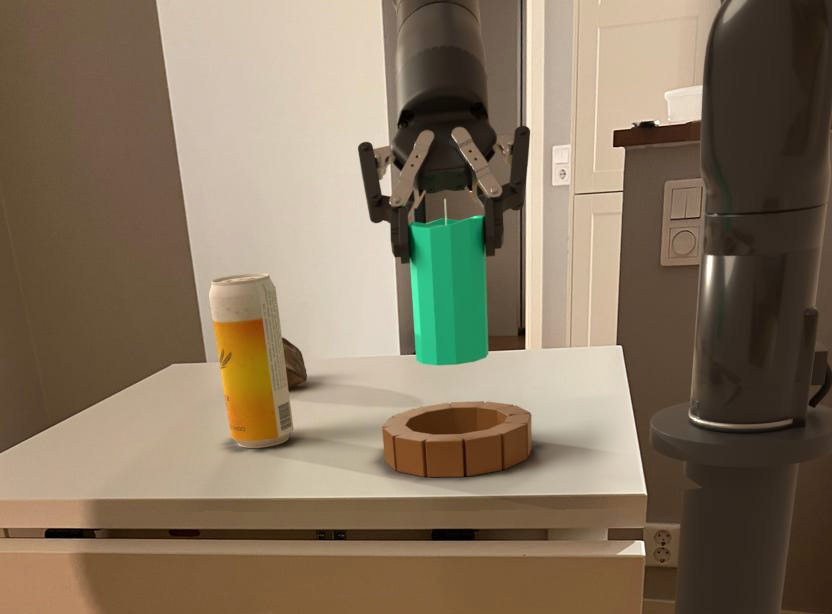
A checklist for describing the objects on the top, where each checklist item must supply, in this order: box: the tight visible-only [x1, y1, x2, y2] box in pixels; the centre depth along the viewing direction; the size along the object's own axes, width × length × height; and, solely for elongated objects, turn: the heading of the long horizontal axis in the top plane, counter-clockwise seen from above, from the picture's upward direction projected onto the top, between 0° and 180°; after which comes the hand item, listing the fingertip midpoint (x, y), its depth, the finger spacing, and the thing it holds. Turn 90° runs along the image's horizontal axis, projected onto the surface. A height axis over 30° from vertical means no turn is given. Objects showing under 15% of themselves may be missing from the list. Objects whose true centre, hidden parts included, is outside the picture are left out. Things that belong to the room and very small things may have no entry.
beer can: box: [208, 272, 294, 449], centre depth 89 cm, size 6×6×15 cm
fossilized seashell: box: [282, 336, 308, 389], centre depth 113 cm, size 8×7×10 cm
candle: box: [408, 198, 489, 366], centre depth 76 cm, size 6×6×12 cm
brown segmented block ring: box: [381, 400, 533, 478], centre depth 82 cm, size 12×12×3 cm
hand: (447, 252), depth 74 cm, fingers closed on candle, 6 cm apart
